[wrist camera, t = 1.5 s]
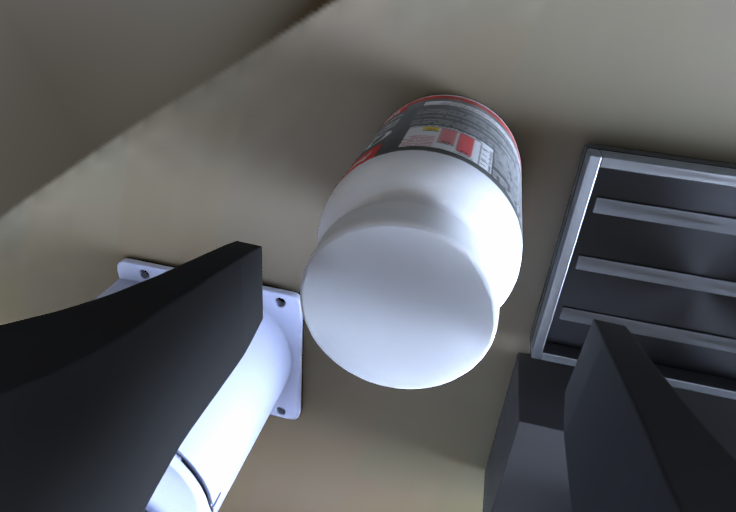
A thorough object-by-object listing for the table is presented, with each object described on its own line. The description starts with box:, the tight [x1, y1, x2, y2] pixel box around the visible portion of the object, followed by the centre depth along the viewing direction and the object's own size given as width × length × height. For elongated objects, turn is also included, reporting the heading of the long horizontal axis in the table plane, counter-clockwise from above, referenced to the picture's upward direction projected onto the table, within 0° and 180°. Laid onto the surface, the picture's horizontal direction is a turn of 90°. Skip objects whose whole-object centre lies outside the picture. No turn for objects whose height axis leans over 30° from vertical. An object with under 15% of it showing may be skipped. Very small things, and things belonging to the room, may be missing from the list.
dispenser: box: [483, 353, 736, 512], centre depth 23 cm, size 11×9×6 cm
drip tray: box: [530, 143, 736, 400], centre depth 20 cm, size 10×9×1 cm
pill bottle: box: [300, 95, 523, 389], centre depth 17 cm, size 6×6×10 cm
